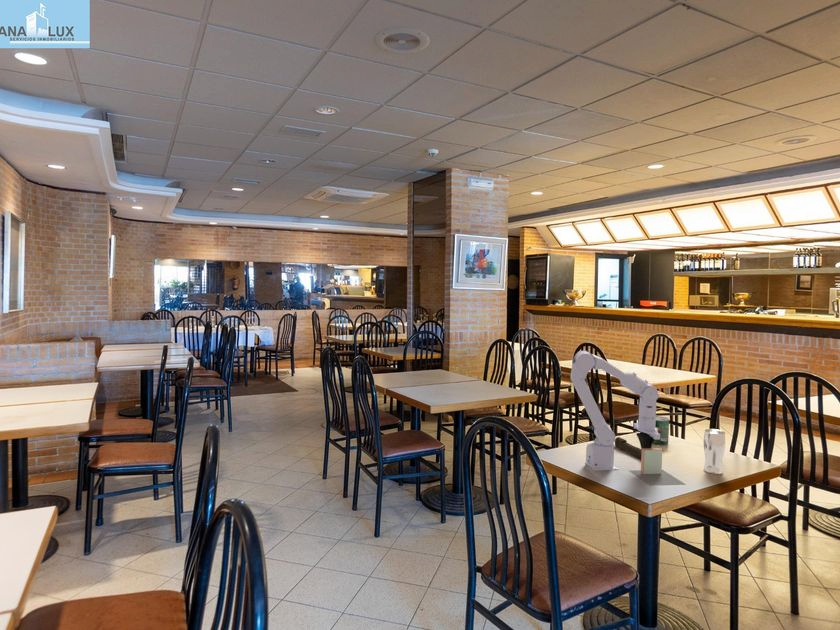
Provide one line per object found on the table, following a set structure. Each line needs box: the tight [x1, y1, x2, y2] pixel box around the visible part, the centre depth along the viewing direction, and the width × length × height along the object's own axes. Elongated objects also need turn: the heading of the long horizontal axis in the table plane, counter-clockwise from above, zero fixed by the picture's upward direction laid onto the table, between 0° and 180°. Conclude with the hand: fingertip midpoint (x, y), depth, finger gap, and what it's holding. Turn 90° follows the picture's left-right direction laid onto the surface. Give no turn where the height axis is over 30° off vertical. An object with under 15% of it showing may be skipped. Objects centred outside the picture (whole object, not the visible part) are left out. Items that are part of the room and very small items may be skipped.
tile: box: [640, 447, 663, 474], centre depth 185 cm, size 7×2×9 cm, turn 96°
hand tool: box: [614, 436, 642, 461], centre depth 210 cm, size 19×4×5 cm, turn 12°
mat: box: [629, 469, 687, 486], centre depth 182 cm, size 13×14×1 cm
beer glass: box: [703, 428, 726, 475], centre depth 189 cm, size 7×7×15 cm
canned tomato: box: [652, 415, 670, 447], centre depth 223 cm, size 8×8×11 cm
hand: (645, 453), depth 190 cm, fingers closed
